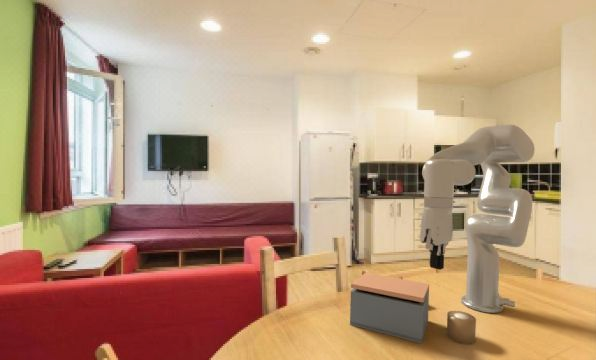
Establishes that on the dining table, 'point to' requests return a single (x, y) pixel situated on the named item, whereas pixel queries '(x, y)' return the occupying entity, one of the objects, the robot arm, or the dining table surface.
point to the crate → (389, 314)
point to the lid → (392, 286)
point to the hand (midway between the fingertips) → (436, 267)
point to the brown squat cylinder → (461, 327)
